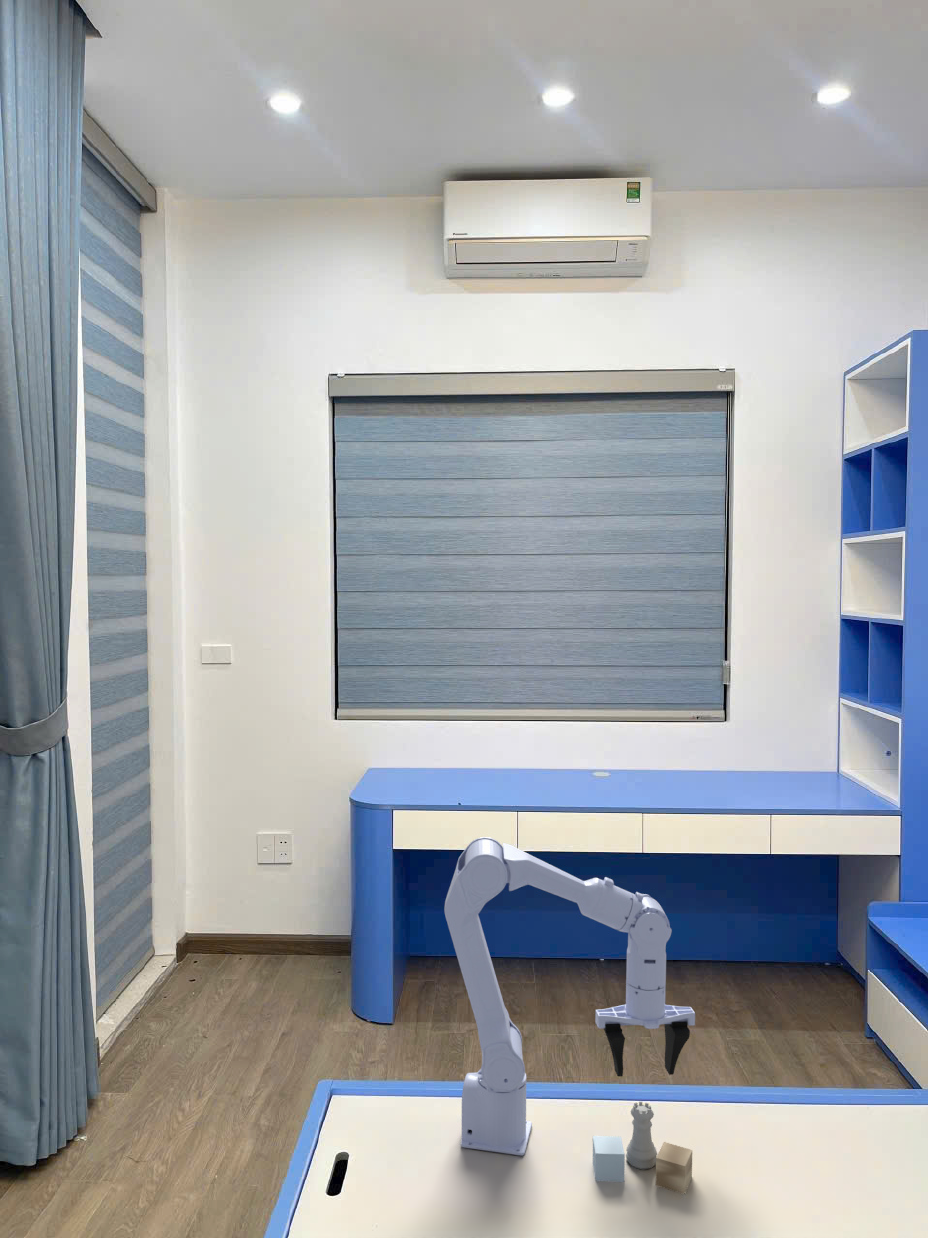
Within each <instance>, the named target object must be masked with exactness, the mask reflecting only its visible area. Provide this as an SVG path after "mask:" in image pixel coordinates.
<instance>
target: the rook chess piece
mask: <svg viewBox="0 0 928 1238" xmlns="http://www.w3.org/2000/svg"><path fill="white" fill-rule="evenodd" d="M630 1115H631V1116H632V1117H633V1120H632V1122H631V1123H632V1127H633V1129H632V1134H631V1135H632V1137H631V1139H630V1140H629V1143H628V1144H627V1147H626V1154H625V1159H626V1160H627V1162H628V1163H629V1164H630V1165H631V1166H632V1167H633V1168H635V1169H638V1170H649V1169H650V1170H651V1169H652V1168H653V1167H655V1166H656V1157H657V1155H658V1152H657V1148H656V1146H655V1144H654V1142H653V1140H652V1139H653V1138H652V1132H651V1131H652V1129H651V1128H652V1126H653V1124H652V1119H653V1118H654V1115H655V1114H654V1111H653V1110H652V1106H651V1105H650V1104H649V1103H648V1102H645V1103H644V1104H643V1101H638V1103H637V1102H634V1104H633V1105H632V1108H631V1110H630Z"/></svg>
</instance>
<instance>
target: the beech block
mask: <svg viewBox="0 0 928 1238" xmlns="http://www.w3.org/2000/svg"><path fill="white" fill-rule="evenodd" d="M692 1178H693V1149H691V1148H690V1149H689V1148H687V1147H684V1146H681V1145H676V1144H673V1143H670V1142H666V1141H663V1143H662V1145H661V1147H660V1148H659V1151H658V1152H657V1157H656V1164H655V1186H657V1187H659V1188H663V1189H666V1190H670V1191H672V1192H674V1193H675V1192H676V1193H679V1194H682V1195H686V1192H687V1190H688V1188H689V1186H690V1183H691V1181H692Z"/></svg>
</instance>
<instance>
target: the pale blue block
mask: <svg viewBox="0 0 928 1238" xmlns="http://www.w3.org/2000/svg"><path fill="white" fill-rule="evenodd" d="M625 1159H626V1154H625V1148H624V1144H623V1140H622V1136H616V1135H615V1136H613V1135H611V1136H610V1135H608V1136H607V1135H592V1169H593V1174H594V1175H593V1176H594V1180H595V1182H614V1183H615V1182H616V1183H617V1182H621V1183H624V1182H625V1172H626V1171H625V1168H626V1167H625V1165H626V1164H625Z"/></svg>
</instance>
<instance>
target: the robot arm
mask: <svg viewBox="0 0 928 1238" xmlns="http://www.w3.org/2000/svg"><path fill="white" fill-rule="evenodd" d="M507 884H508V891H509V892H512V891H515V890H517V889H519V888H521V887H525V886H528V885H529V886H532V887H534V888H536V889H540V890H542V891H545V892H547V893H550V894H552V895H555V896H558V897H560V898H563V899H566V900H568V901H571V902H573V903H576V904H577V906H578V908H579V911H580V913H581V915H582V916H585V917H587V918H589V919H590V920H594V921H596V922H598V923H600V924H603V925H605V926H607V927H609V928H611V929H614V930H616V931H617V932H622V933H627V948H626V974H625V975H626V976H625V977H626V979H625V1004H622V1005H618V1006H617V1005H616V1006H611V1007H607V1008H602V1009H595V1015H594V1017H595V1019H594V1020H595V1022H594V1023H595V1025H596V1026H597V1028H598V1029H603V1030H604V1033H605V1036H606V1039H607V1041H608V1044H609V1047H610V1051H611V1055H612V1059H613V1066H614V1071H615V1073H616V1075H617V1077H623V1076H624V1046H625V1042H626V1041H625V1040H626V1036H624V1034H623V1028H622V1027H621V1026H642V1027H643V1026H644V1028H645V1029H648V1030H652V1029H653V1030H654V1029H659V1028H660V1025H664V1037H665V1038H664V1039H665V1045H664V1046H665V1047H664V1068H665V1069H666V1072H667V1073H668V1075H674V1074H675V1069H676V1065H677V1062H678V1059H679V1056H680V1054H681V1052H682V1050H683V1048H684V1046H685V1045H686V1043H687V1041H688V1040H689V1039H690V1035H691V1030H690V1029H689V1027H688V1026H690V1027H691V1026H696V1012H695V1011H694V1009H693V1008H692V1006H681V1005H680V1006H679V1005H678V1006H677V1005H670V1004H666V987H667V986H666V985H667V982H666V981H667V980H666V979H667V952H666V948H667V946H666V945H667V943H668V941H669V940H670V938H671V935H672V932H673V931H672V928H671V927H670V926H671V925H670V920H669V919H668V916H667V915H666V913H665V911H664V909H663V907H662V906H661V905H660V903H659V902H658V901H657V900H656V899H654V898H653V897H651V895H649V894H646V893H645V894H644V893H640V892H638V891H636V892H635V894H634V893H633V892H630V891H628V890H627V889H623V888H621V887H619V886H618V885H617V886H616V885H615V882H614V880H613V879H611V878H609V877H607V876H605V877H604V879H601V878H598V877H593V878H590V879H587V880H583V879H580V878H578V877H576V876H574V875H572V874H570V873H568V872H566V871H564V870H562V869H560V868H558V867H556V866H554V865H552V864H549V863H548V862H546V861H544V860H542V859H540V858H537V857H536V856H533V855H532V854H529V853H527V852H525V851H523V850H521V849H520V848H518V847H516V846H514V845H512V844H508V843H505V842H502V844H501V843H500V841H498V840H496V839H494V838H492V837H489V836H481V837H479V838H478V837H477V838H475V839H473V840H472V841H470V843H468V845H467V846H466V848H465V849H464V850H463V852H462V853H461V854H460V856H459V857H458V860H457V862H456V866H455V870H454V873H453V876H452V879H451V882H450V884H449V885H450V886H449V888H448V891H447V894H446V898H445V901H444V909H443V910H444V915H445V920H446V922H447V928H448V930H449V933H450V937H451V941H452V943H453V948H454V951H455V954H456V957H457V961H458V965H459V968H460V972H461V974H462V978H463V981H464V985H465V988H466V991H467V996H468V999H469V1002H470V1003H469V1004H470V1005H471V1010H472V1012H473V1016H474V1020H475V1023H476V1027H477V1033H478V1039H479V1045H480V1050H481V1067H480V1069H479V1070H478V1071H477V1072H467V1073H466V1075H465V1077H464V1081H463V1085H462V1095H461V1140H460V1147H461V1148H466V1149H473V1150H479V1151H480V1150H481V1151H487V1152H494V1153H500V1154H501V1153H502V1154H507V1155H514V1156H515V1155H516V1156H524V1155H526V1150H527V1146H528V1142H529V1140H530V1139H529V1138H530V1134H531V1130H532V1128H533V1127H532V1126H533V1123H532V1121H530V1120H527V1073H526V1065H525V1063H524V1056H523V1055H524V1054H523V1047H522V1046H523V1036H522V1034H521V1030H519V1028H518V1027H517V1026H516V1024H514V1022H513V1021H512V1020H511V1018H510V1014H509V1011H508V1010H507V1008H506V1006H505V1003H504V1000H503V995H502V993H501V992H502V991H501V989H500V986H499V982H498V979H497V976H496V971H495V969H494V964H493V961H492V958H491V955H490V951H489V948H488V944H487V941H486V936H485V933H484V930H483V927H482V923H481V919H480V916H479V914H480V913H481V911H482V909H483V908H484V906H485V905H486V904H487V903H488V902H489V901H491V900H492V899H493V898H495V897H496V896H498V895H499V894H500V893H501V892H502V891H503V890H504V889H505V887H506V886H507Z"/></svg>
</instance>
